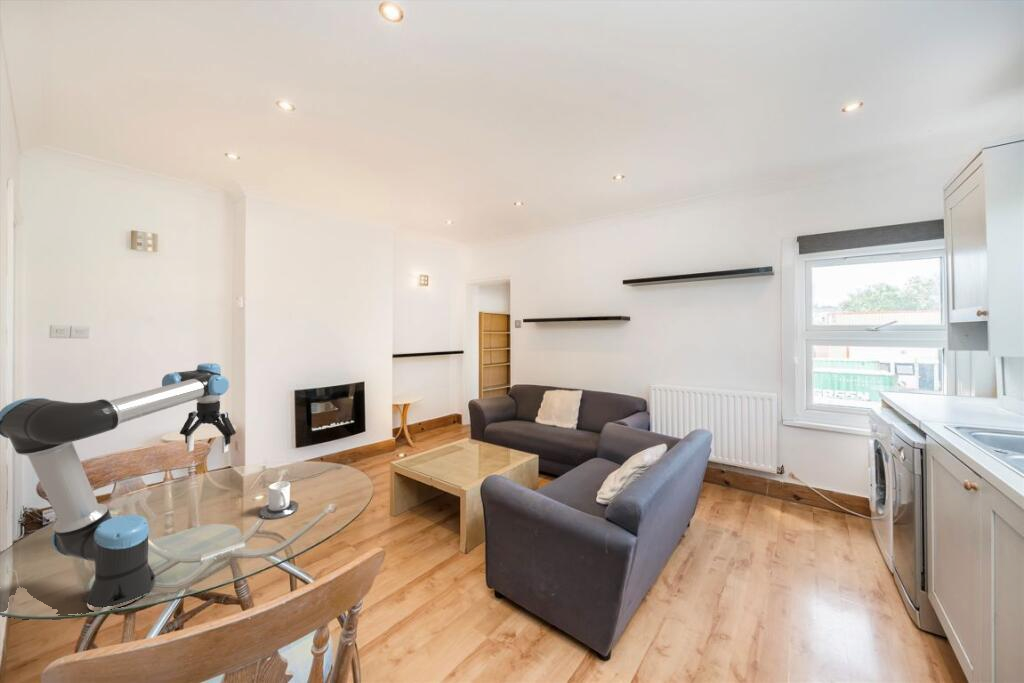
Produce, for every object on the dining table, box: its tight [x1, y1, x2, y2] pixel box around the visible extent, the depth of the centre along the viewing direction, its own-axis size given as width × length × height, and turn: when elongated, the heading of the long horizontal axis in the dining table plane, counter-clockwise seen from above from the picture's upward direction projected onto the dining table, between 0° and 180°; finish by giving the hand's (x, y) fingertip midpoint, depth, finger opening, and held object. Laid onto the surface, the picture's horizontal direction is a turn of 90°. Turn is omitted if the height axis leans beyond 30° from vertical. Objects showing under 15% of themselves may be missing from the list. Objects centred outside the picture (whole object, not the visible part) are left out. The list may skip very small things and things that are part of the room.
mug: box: [268, 481, 291, 511], centre depth 172 cm, size 12×8×10 cm
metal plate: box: [259, 500, 299, 520], centre depth 173 cm, size 15×15×1 cm
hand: (207, 451), depth 157 cm, fingers open, 13 cm apart
